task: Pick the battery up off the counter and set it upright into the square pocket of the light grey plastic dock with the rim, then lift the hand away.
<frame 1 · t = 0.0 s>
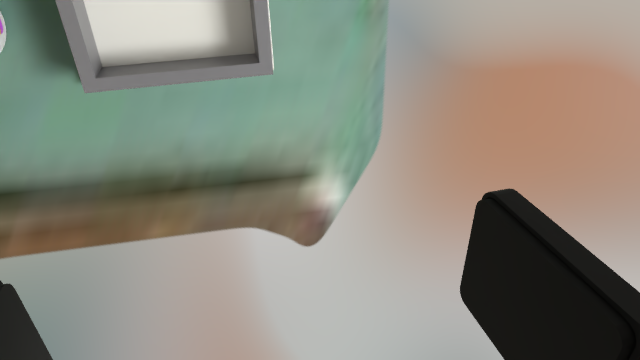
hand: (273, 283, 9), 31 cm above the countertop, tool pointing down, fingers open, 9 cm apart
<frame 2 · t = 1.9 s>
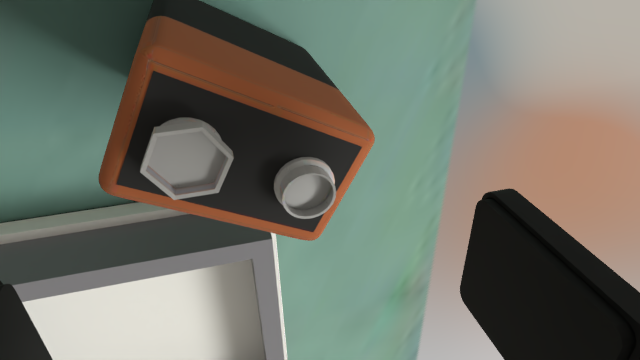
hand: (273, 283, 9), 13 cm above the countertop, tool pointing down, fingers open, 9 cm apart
battery: (222, 63, 19), on the countertop
dock: (153, 307, 26), on the countertop
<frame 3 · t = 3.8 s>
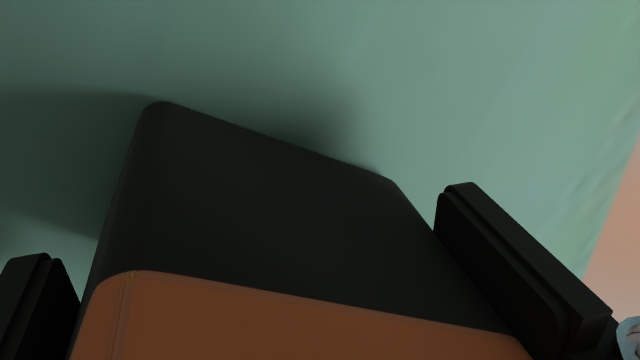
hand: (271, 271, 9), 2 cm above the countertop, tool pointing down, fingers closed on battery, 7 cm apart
battery: (255, 204, 12), on the countertop, touching gripper
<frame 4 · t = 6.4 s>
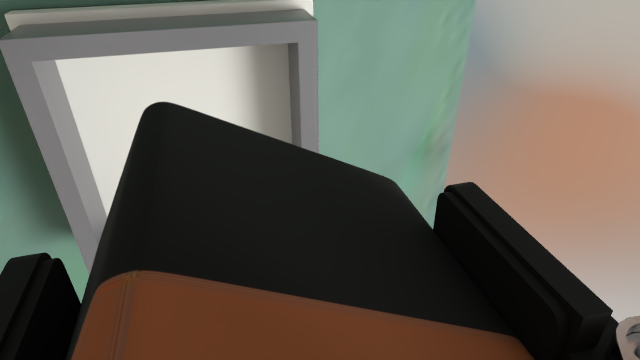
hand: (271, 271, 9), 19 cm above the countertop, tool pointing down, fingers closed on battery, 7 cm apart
battery: (256, 204, 12), point 16 cm above the countertop, touching gripper
dock: (193, 131, 27), on the countertop
when the fingers open (5 cm above the countertop, at t = 9.2 s): battery drops 1 cm, resting on dock.
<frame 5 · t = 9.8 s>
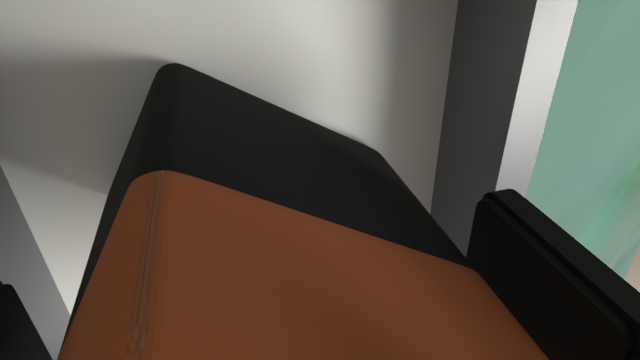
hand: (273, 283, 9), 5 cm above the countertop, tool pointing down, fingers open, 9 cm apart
battery: (253, 167, 13), point 1 cm above the countertop, touching dock
dock: (246, 165, 13), on the countertop
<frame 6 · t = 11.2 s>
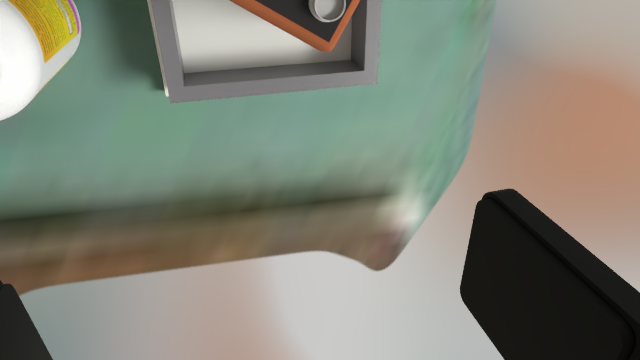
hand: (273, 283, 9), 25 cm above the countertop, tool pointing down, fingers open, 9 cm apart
supplement bottle: (24, 16, 27), on the countertop
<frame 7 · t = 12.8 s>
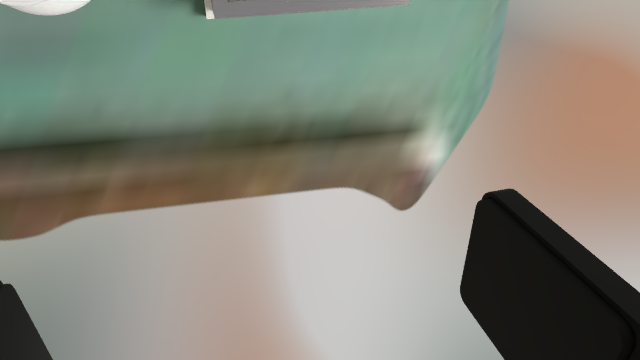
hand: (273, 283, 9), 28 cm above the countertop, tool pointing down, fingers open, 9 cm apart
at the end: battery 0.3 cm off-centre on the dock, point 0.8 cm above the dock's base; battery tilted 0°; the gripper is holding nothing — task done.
